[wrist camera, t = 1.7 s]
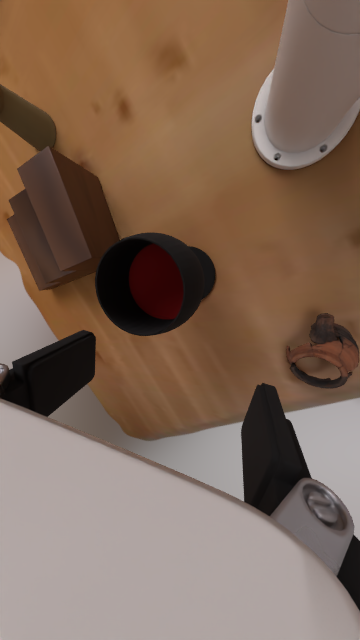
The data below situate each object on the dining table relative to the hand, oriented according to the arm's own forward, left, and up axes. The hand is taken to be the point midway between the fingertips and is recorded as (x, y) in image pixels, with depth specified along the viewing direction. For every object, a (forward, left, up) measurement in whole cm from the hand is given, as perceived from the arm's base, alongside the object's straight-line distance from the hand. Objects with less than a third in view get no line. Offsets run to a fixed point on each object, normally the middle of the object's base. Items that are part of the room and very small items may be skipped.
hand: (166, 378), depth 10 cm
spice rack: (+4, -31, -27) cm, 41 cm away
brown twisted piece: (-2, +19, -27) cm, 33 cm away
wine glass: (-1, -6, -27) cm, 28 cm away
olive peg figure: (-11, -42, -27) cm, 51 cm away
